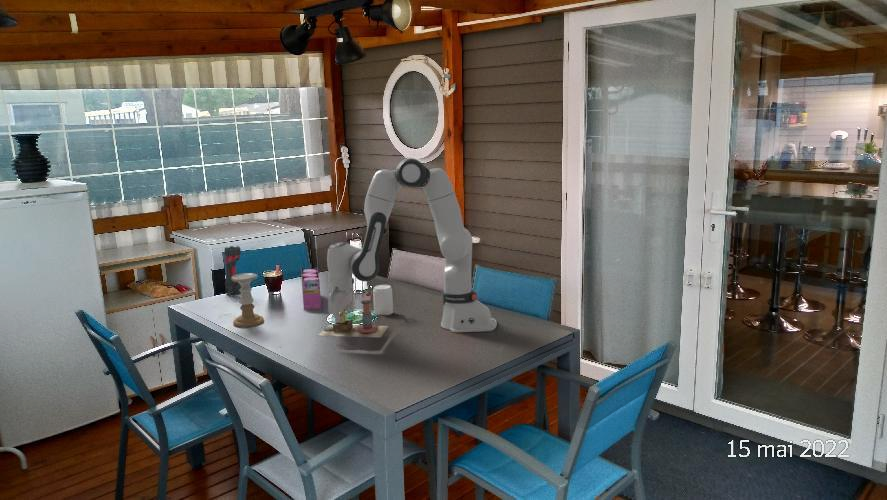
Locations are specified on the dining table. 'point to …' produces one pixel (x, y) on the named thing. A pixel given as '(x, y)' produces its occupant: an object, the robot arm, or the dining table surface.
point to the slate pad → (328, 329)
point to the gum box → (311, 289)
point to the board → (355, 332)
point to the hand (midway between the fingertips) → (341, 318)
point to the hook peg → (342, 318)
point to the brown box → (343, 327)
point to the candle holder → (246, 302)
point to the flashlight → (232, 269)
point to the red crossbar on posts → (367, 316)
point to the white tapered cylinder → (383, 300)
